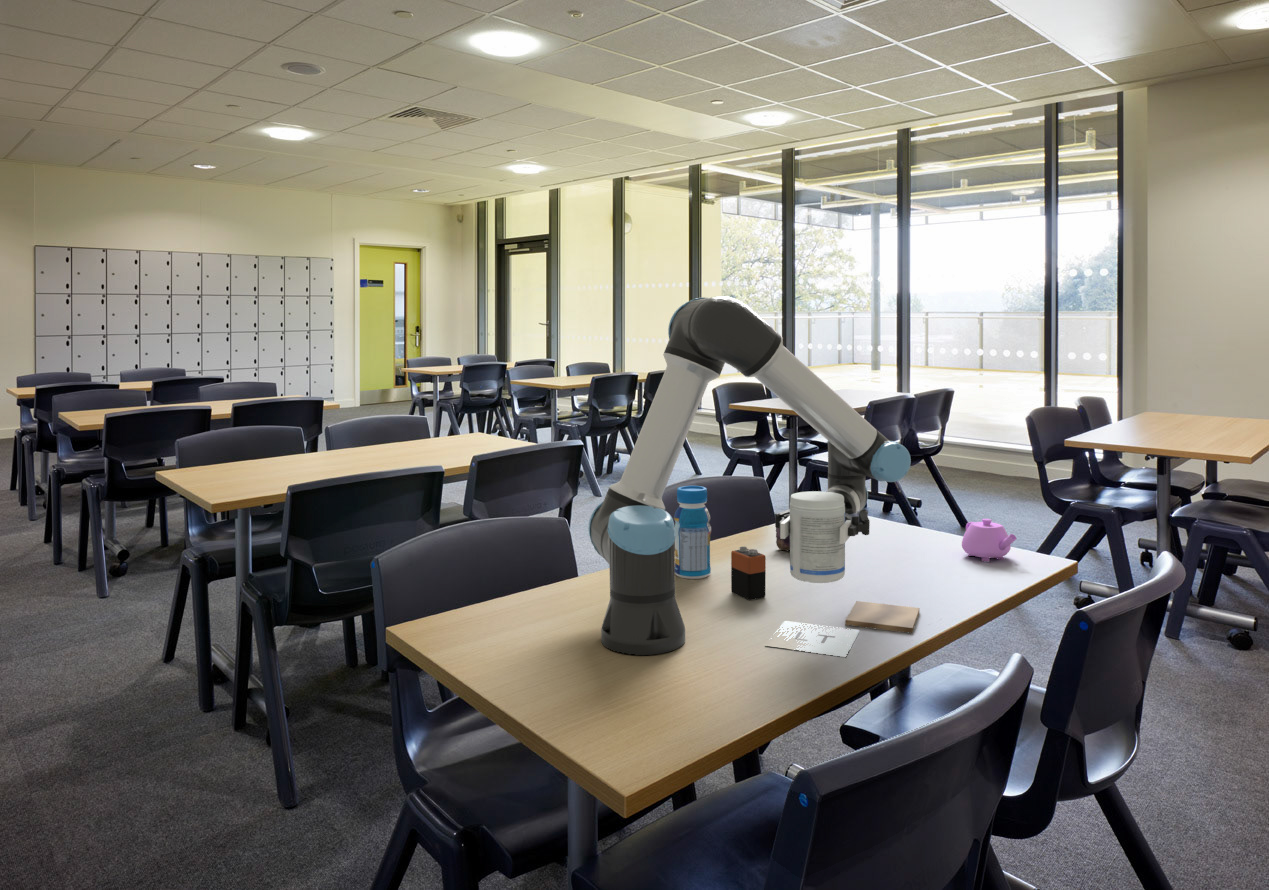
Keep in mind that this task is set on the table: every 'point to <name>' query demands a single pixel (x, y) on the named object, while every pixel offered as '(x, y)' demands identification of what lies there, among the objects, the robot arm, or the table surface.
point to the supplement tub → (817, 536)
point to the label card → (820, 638)
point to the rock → (782, 541)
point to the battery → (748, 573)
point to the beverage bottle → (692, 533)
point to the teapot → (986, 540)
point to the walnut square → (883, 616)
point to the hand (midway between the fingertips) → (811, 533)
